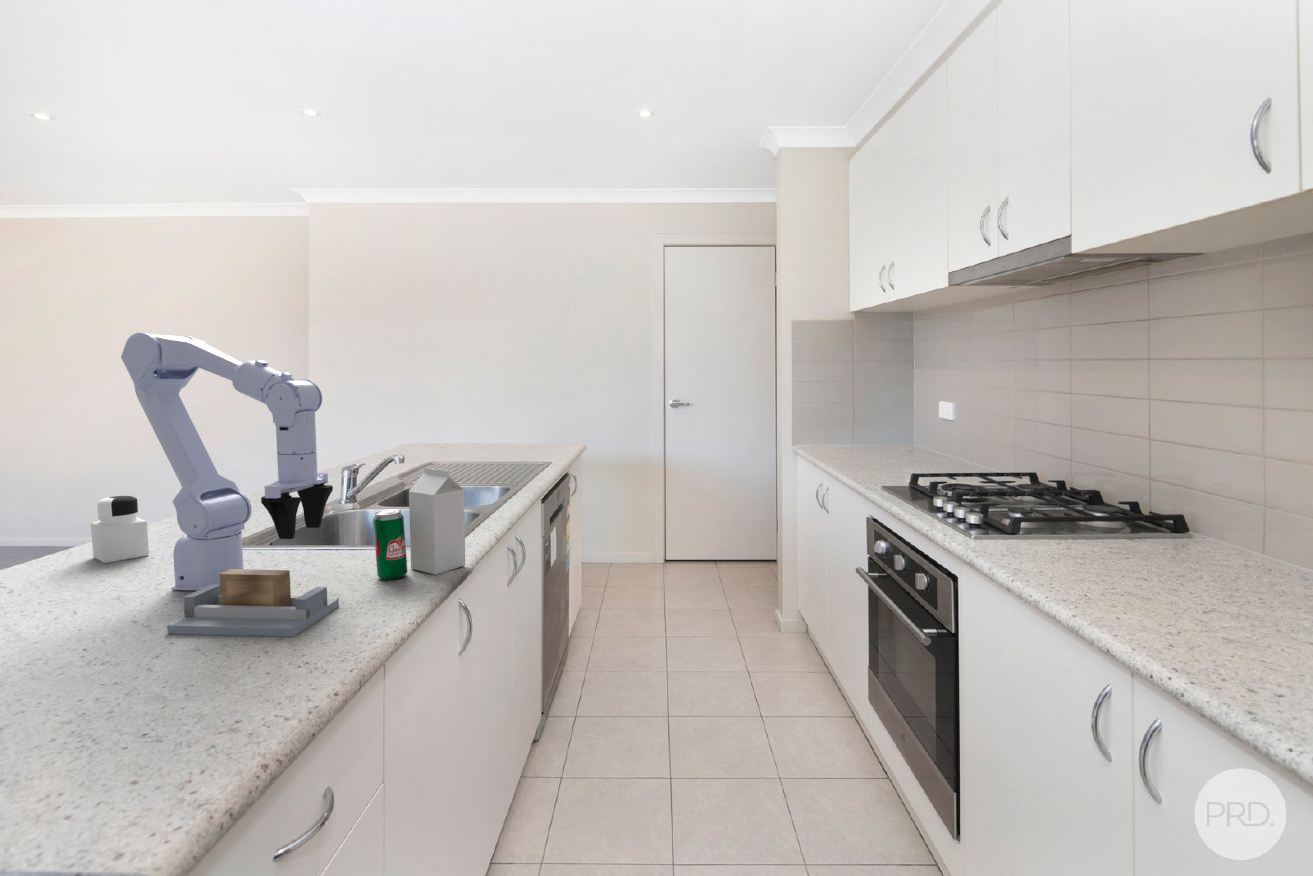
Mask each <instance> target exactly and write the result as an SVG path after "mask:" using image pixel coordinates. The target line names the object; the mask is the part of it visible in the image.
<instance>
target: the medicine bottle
mask: <svg viewBox="0 0 1313 876" xmlns="http://www.w3.org/2000/svg"><path fill="white" fill-rule="evenodd" d="M96 504H97V518H98V519H97V521H93V522H91V523H90V528H91V529H90V530H91V543H92V546H91V547H92V556H93V558H95V559H96V560H98V561H100V562H101V563H104V564H108V563H114V562H119V561H125V560H132V559H135V558H142V557H148V556H149V555H150V548H149V547H150V546H149V534H148V533H149V532H148V521H146V520H144V519H142V518H139V517H138V516H139V508H138V507H139V505H138V498H137V497H136V496H135V497H134V496H132V495H116V496H108V497H107V496H106V497H104V498H102V499H99V500H98V501H97V503H96Z"/></svg>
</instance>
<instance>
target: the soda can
mask: <svg viewBox="0 0 1313 876" xmlns="http://www.w3.org/2000/svg"><path fill="white" fill-rule="evenodd" d="M372 523H373V536H374V548H375V563H376V572H377V577H378V578H379V579H380V580H384V581H393V580H398V579H402V578H403V577H405V576H406V575H407V574H408V558H407V547H406V533H405V520H404V515H403V514H402V511H401V509H396V508H395V509H394V508H393V509H384V510H383V509H382V510H378V511H376V512H374V517H373V518H372Z"/></svg>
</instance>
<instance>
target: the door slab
mask: <svg viewBox="0 0 1313 876" xmlns="http://www.w3.org/2000/svg"><path fill="white" fill-rule="evenodd" d="M219 575H220V593H221V605H235V606H279V607H291V596H292V594H291V592H292V591H291V574H290V569H248V568H247V569H244V568H243V569H230V570H228V571H225V572H223V573H221V574H219Z"/></svg>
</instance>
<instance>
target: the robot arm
mask: <svg viewBox="0 0 1313 876" xmlns="http://www.w3.org/2000/svg"><path fill="white" fill-rule="evenodd" d="M120 358H121V360H122V363H123V364H124V366H125V368H126V370H127V372H128V374H129V376H130V378H131V380H132V382H133V387H134V392H135V395H136V397H137V400H138V403H139V404H140V405H141V408H142V409H143V412H144V414H145V415H146V418H147V419H148V421H149V424H150V426H151V428H152V429H153V432H154V434H155V436H156V437H157V440H158V442H159V444H160V446H161V447H162V449H163V451H164V454H165V456H166V457H167V459H168V461H169V463H170V466H171V467H172V469H173V472H174V474H175V476H176V477H177V480H178V481H179V483H180V485H181V488H180V490H179V492H178V493H177V494H176V495H175V497H174V498H173V500H172V504H173V506H174V508H175V510H176V520H177V524H178V527H179V528H180V530H181V531H182V532H183V534H184V535H182V536H180V538H179V539H178V540H176V543H175V544H174V547H173V555H172V556H173V567H174V569H173V570H174V586H171V590H172V591H198V590H200V589H202V588H205V587H207V586H209V585H211V584H218V585H220V575H219V574H221V573H223V572H225V571H228V570H230V569H244V553H243V533H242V530H243V531H244V530H245V527H246V526H245V524H246V523H248V521H249V520H250V518H251V517H252V512H253V510H252V504H251V501H250V499H249V498H248V497H247V495H246V494H244V493H243V492H242V491H240V489H239V487H238V486H237V484H236V482H235V481H232V480H231V479H228V478H227V477H224V476H222V475H220V474H219V473H218V471H217V468H216V467H215V465H214V462H213V461H212V458H211V457H210V454H209V453H208V451H207V448H206V446H205V444H204V442H203V440H202V439H201V437H200V435H199V432H198V430H197V428H196V426H195V425H194V423H193V420H192V418H191V416H190V414H189V412H188V410H187V408H186V407H185V405H184V403H183V400H182V398H181V397H180V392H181V390H182V389H184V388H186V387H187V385H188V384H189V382H190V381H191V380H192V378H193V377H194V376H195V375H196V373H197V371H199V369H202V370H204V371H206V372H208V373H211V374H214V375H216V376H219V377H220V378H221V377H222V378H224V379H227V380H229V381H231V382H232V387H233V388H234V390H236V391H237V393H240V394H242V395H245V396H247V397H249V398H252V399H253V400H255V401H258V402H260V403H263V404H265V405H266V407H267V408H268V410H269V412H270V413H271V414H272V415H271V416H272V423H274V426H275V435H276V439H275V440H276V453H277V455H276V459H277V461H276V462H277V480H274V481H273V482H271V483H270V484H267V485H264V495H263V496H261V498H260V502H261V504H262V505H263V506H264V509H265V510H266V511H267V513H269V515H270V518H271V519H272V522H273V524H274V527H275V530H276V533H277V535H278V538H279V540H292V539H294V538H295V535H296V525H297V524H296V522H297V514H298V509H299V506H300V504H301V506H302V511H303V517H304V523H305V526H306V528H307V529H319V528H321V524H322V521H323V516H324V512H325V507H326V505H327V502H328V501H329V498H330V496H331V494H332V493H333V490H334V489H333V488H334V487H333V485H332V484H329V476H328V475H329V474H328V472H318V460H317V459H318V457H317V433H316V432H317V431H316V412H317V411H318V410H319V409H320V408H321V406H322V403H323V394H322V391H321V389H320V388H319V386H318V385H317V384H316V383H314V382H313V381H311V380H310V379H299V380H295V379H294V378H293V375H292V373H289V372H280V371H278V370H275V369H274V368H272V367H270V366H268V365H269V362H267V361H265V360H261V359H260V360H259V359H258V360H257V359H256V360H248V361H246V362H241V361H239V360H237V359H235V358H234V357H232V356H230V355H228V354H226V353H224V352H223V351H221V350H218V349H217V348H215V347H213V346H210V345H208V344H207V343H206V342H205V341H204V340H200V339H197V338H195V337H193V336H190V335H181V336H180V335H169V334H168V335H165V334H153V333H147V332H136V333H133V334H131V335H130V336H129V337H128V338H127V340H126V342H125V344H124V347H123V350H122V353H121V356H120ZM296 492H297V495H298V496H299V497H298V496H292V494H291V493H296ZM290 494H291V495H290Z"/></svg>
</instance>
